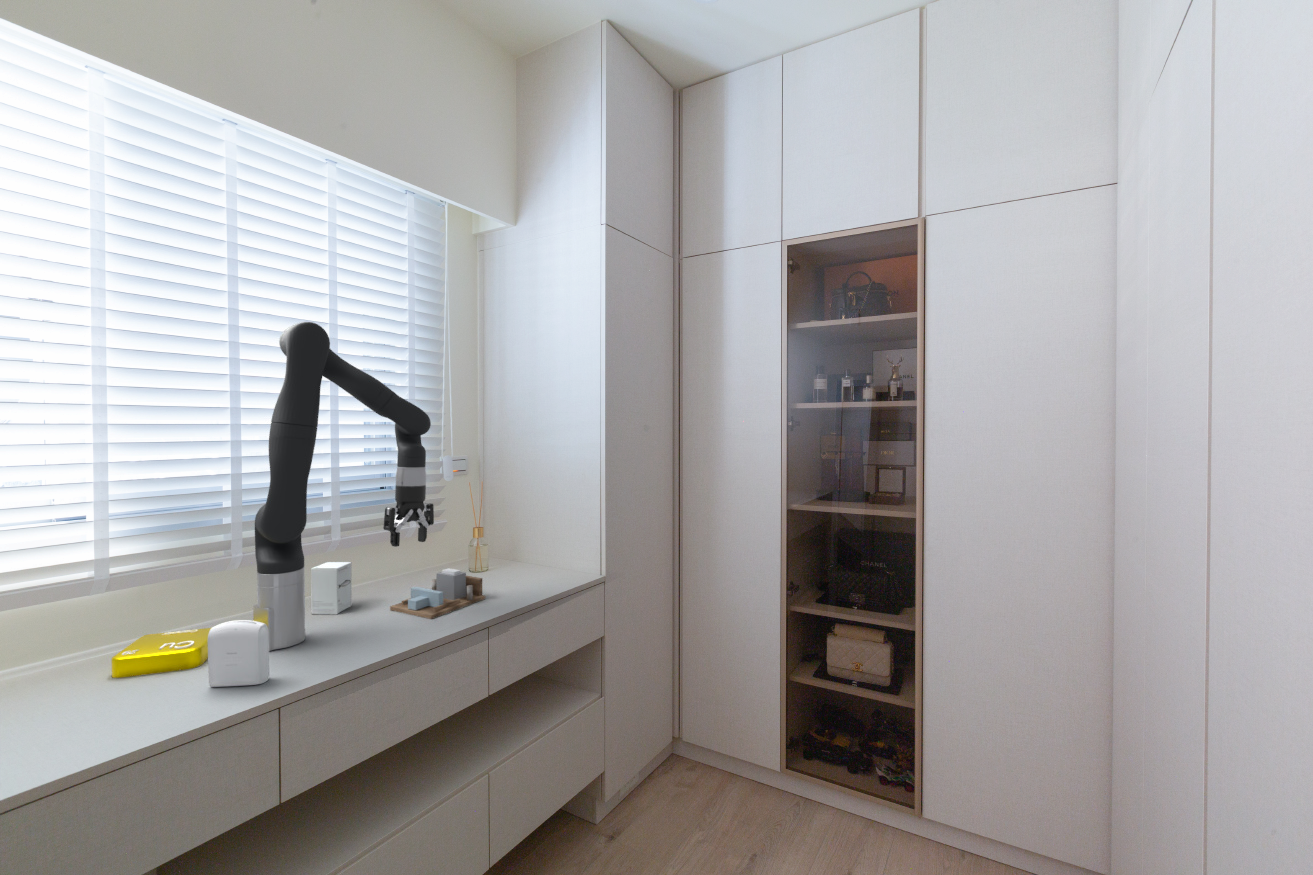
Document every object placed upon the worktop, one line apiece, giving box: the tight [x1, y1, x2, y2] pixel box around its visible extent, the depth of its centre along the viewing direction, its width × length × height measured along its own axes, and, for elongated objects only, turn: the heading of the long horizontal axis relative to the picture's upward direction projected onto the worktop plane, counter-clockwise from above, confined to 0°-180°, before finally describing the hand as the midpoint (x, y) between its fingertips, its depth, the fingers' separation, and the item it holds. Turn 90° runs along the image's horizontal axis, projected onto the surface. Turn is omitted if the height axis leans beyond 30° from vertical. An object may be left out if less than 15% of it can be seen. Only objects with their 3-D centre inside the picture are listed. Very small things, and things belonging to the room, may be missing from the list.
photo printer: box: [207, 619, 270, 688], centre depth 112 cm, size 10×4×12 cm, turn 96°
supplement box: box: [310, 561, 353, 615], centre depth 156 cm, size 7×7×13 cm
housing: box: [389, 575, 486, 620], centre depth 161 cm, size 20×16×6 cm
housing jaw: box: [408, 586, 443, 610], centre depth 155 cm, size 6×11×4 cm, turn 63°
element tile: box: [111, 627, 212, 679], centre depth 123 cm, size 15×15×5 cm
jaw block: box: [435, 567, 467, 600], centre depth 165 cm, size 4×7×8 cm, turn 63°
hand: (408, 543), depth 152 cm, fingers open, 8 cm apart
